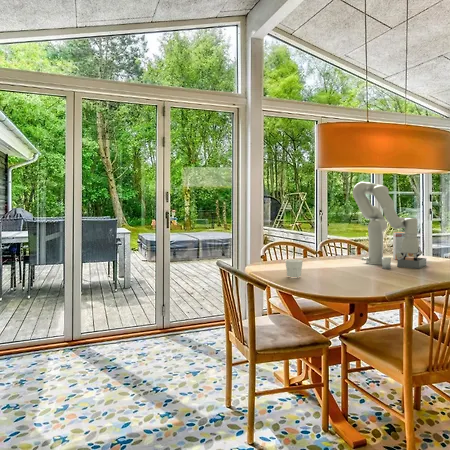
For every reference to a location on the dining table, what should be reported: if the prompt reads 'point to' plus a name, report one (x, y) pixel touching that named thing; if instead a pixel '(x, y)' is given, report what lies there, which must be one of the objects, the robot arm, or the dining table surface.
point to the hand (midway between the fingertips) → (410, 262)
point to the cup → (294, 267)
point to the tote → (411, 263)
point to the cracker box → (398, 245)
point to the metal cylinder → (386, 263)
